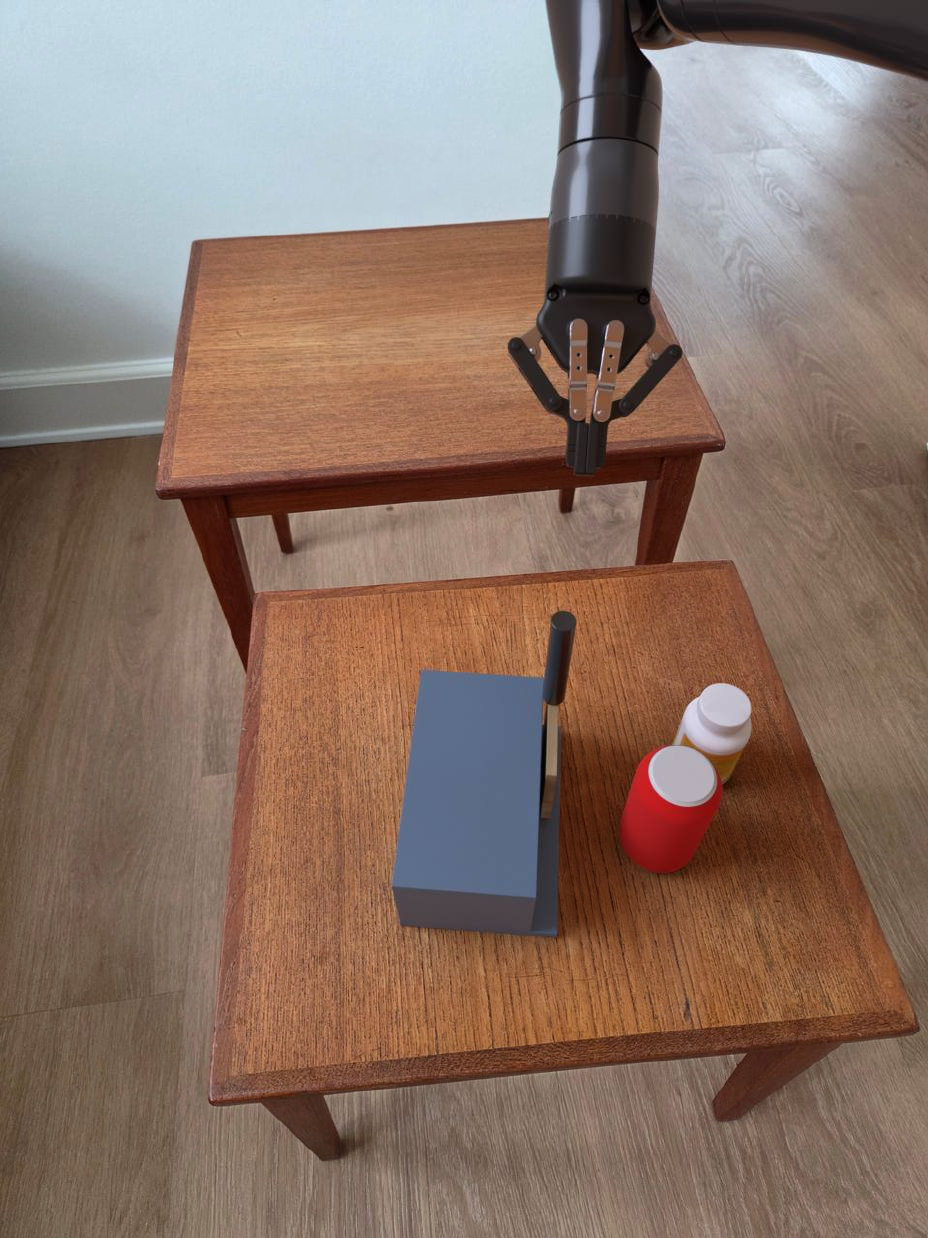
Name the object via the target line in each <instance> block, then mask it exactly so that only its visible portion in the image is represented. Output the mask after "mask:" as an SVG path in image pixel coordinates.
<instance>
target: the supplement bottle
mask: <svg viewBox="0 0 928 1238" xmlns="http://www.w3.org/2000/svg"><path fill="white" fill-rule="evenodd" d="M752 711H753V710H752V702H751V701H750V698H749V697H748V695H747V694H746V693H745V692H744V691H743V690H742V689H740V688H739V687H737V686H735V685H733V684H730V683H726V682H725V683H723V682H719V683H713V684H710V685H708V686H707V687H705V689H704V690H703V691H702V692H701V694H700V696H698V697H697V696H696V698H694V699H693V700H692V701H691V702H689V704H688V705H687V706H686V708H685V710H684V712H683V715H682V718H681V720H680V722H679V725H678V728H677V730H676V733H675V736H674V739H673V741H672V743H671V745H683V746H688V747H691V748H694V749H696V750H698V751H699V752H701V753H702V754H704V755H705V756H706V757H707V758H708V759H709V760H710V761H711V762H712V763H713V765H714V766H715V768H716V769H717V771H718V773H719V775H720V778H721V782H722V785H724V784H725V783H727V781H728V780H729V779H730V777H731V775H732V773H733V772H734V770H735V767H736V766H737V764H738V761H739V759H740V757H741V755H742V754H743V751H744V750H745V748H746V746H747V744H748V742H749V740H750V738H751V736H752V730H753V728H752V727H753V725H752V720H751V715H752Z"/></svg>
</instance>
